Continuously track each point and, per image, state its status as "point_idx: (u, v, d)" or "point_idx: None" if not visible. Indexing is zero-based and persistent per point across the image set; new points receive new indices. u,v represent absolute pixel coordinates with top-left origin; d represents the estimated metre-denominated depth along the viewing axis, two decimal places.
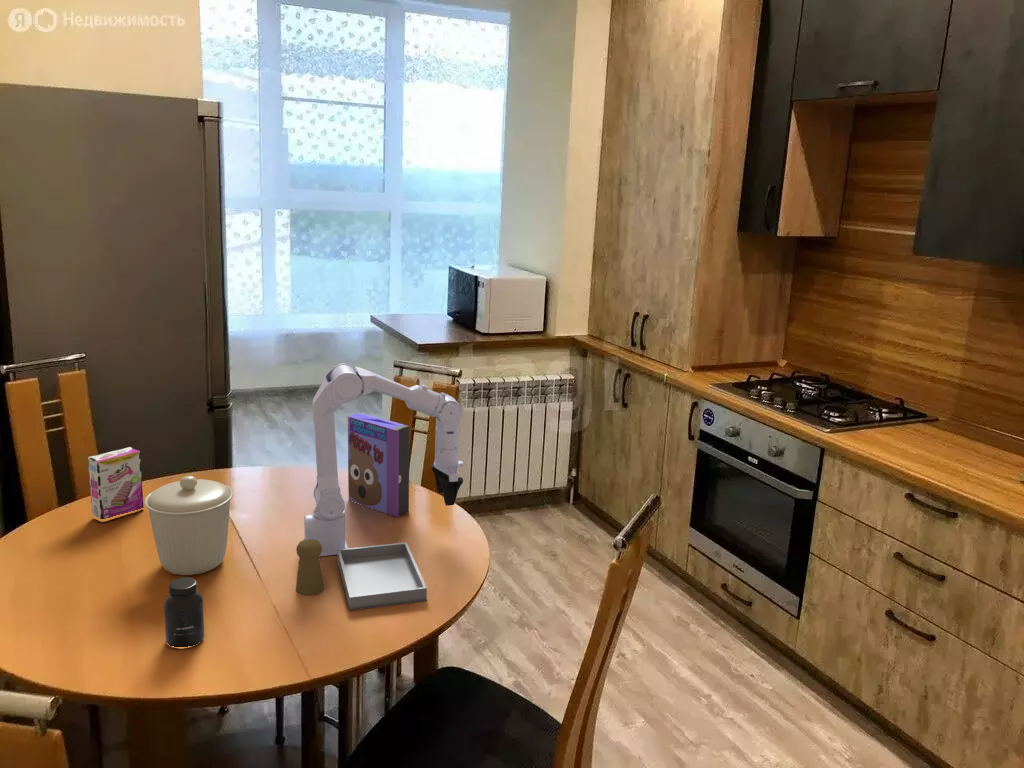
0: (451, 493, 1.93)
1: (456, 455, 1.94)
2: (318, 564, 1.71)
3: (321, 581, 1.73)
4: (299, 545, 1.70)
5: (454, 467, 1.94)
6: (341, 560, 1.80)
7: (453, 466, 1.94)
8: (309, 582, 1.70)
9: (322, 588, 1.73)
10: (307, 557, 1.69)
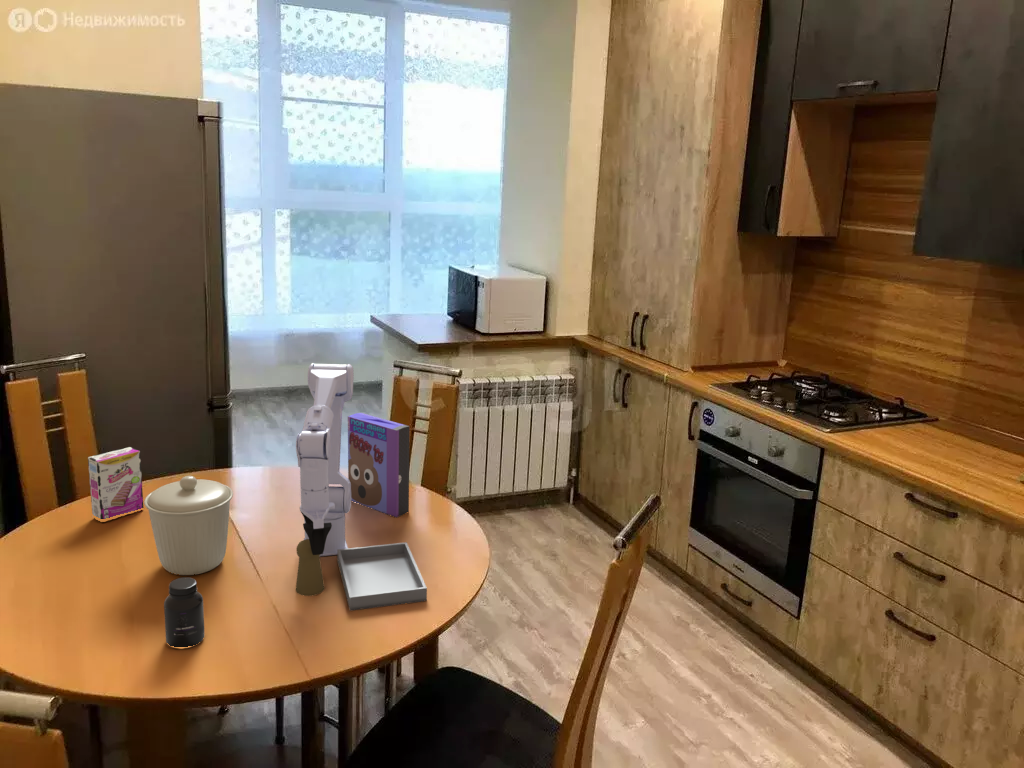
0: (318, 541, 1.68)
1: (325, 497, 1.68)
2: (318, 564, 1.71)
3: (321, 581, 1.73)
4: (299, 545, 1.70)
5: (322, 511, 1.68)
6: (341, 560, 1.80)
7: (321, 510, 1.68)
8: (309, 582, 1.70)
9: (322, 588, 1.73)
10: (307, 557, 1.69)
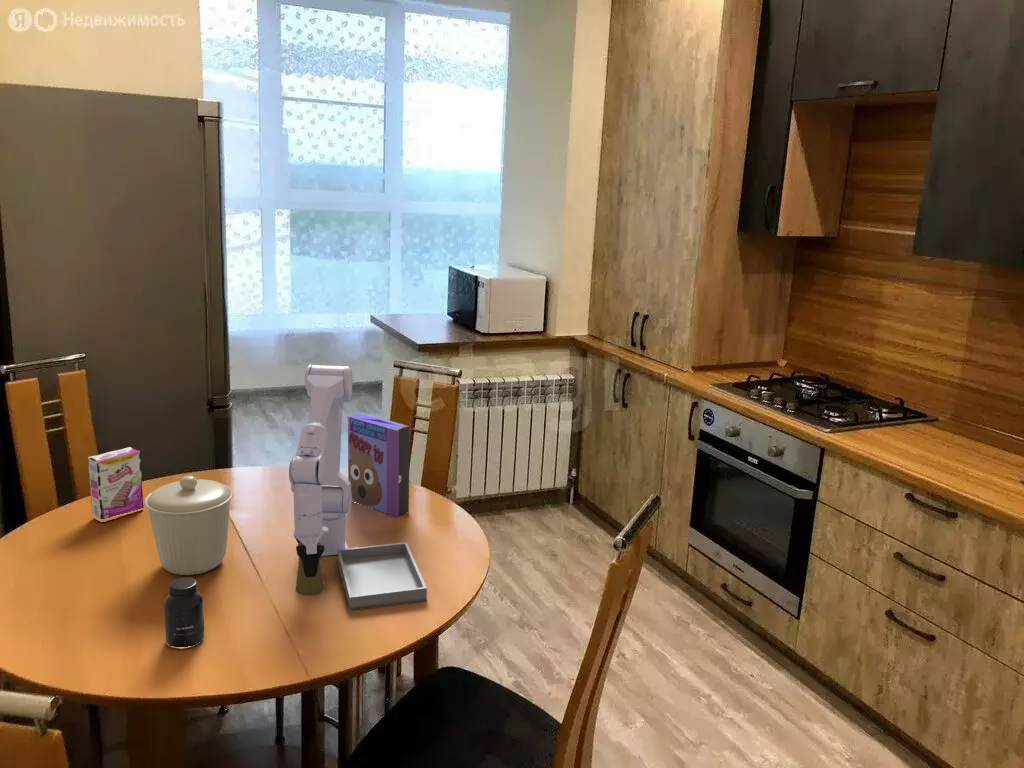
0: (311, 563, 1.69)
1: (318, 522, 1.68)
2: (318, 564, 1.71)
3: (321, 581, 1.73)
4: (299, 545, 1.70)
5: (315, 536, 1.68)
6: (341, 560, 1.80)
7: (314, 534, 1.68)
8: (309, 582, 1.70)
9: (322, 588, 1.73)
10: None
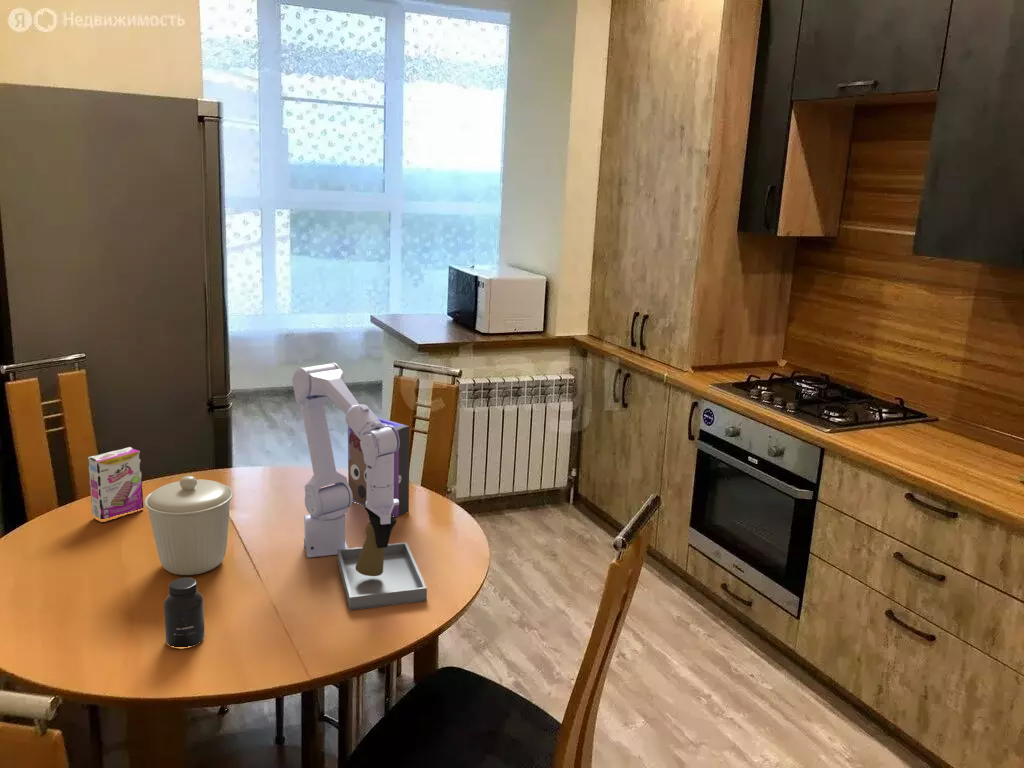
0: (383, 534, 1.72)
1: (390, 494, 1.72)
2: None
3: (382, 564, 1.76)
4: (369, 524, 1.74)
5: (388, 507, 1.71)
6: (341, 560, 1.80)
7: (386, 506, 1.71)
8: (372, 563, 1.74)
9: (381, 571, 1.76)
10: None
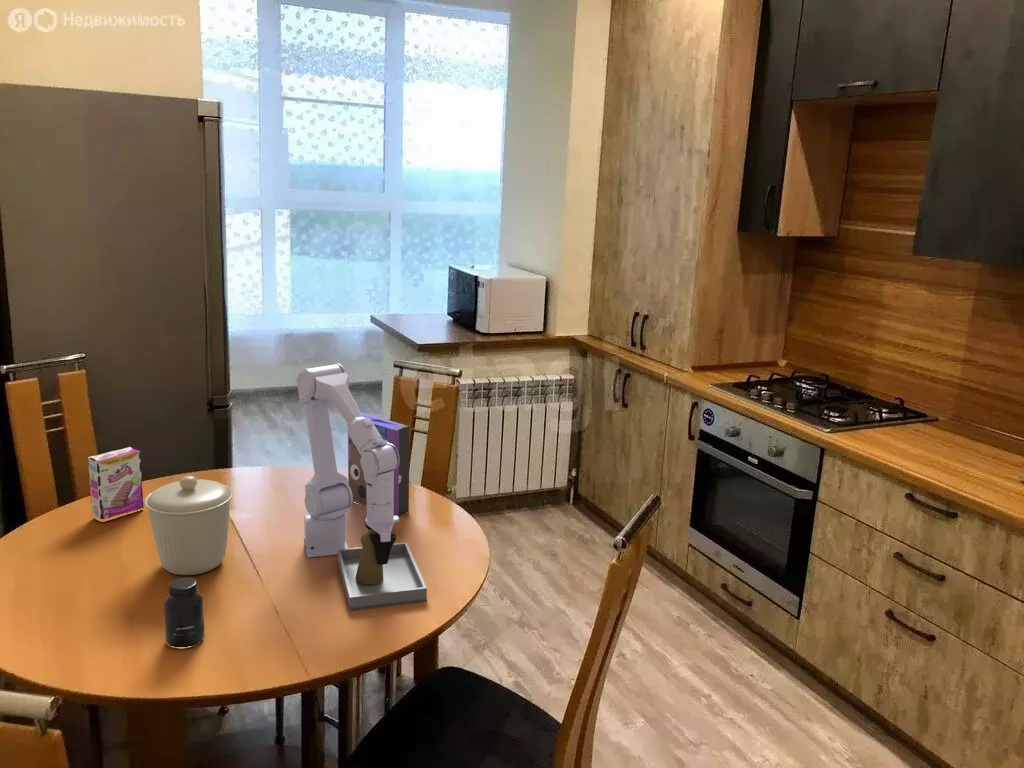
0: (383, 551, 1.73)
1: (390, 511, 1.73)
2: None
3: (382, 571, 1.76)
4: (364, 534, 1.74)
5: (388, 524, 1.72)
6: (341, 560, 1.80)
7: (386, 523, 1.72)
8: (371, 572, 1.74)
9: (382, 578, 1.76)
10: (371, 546, 1.73)
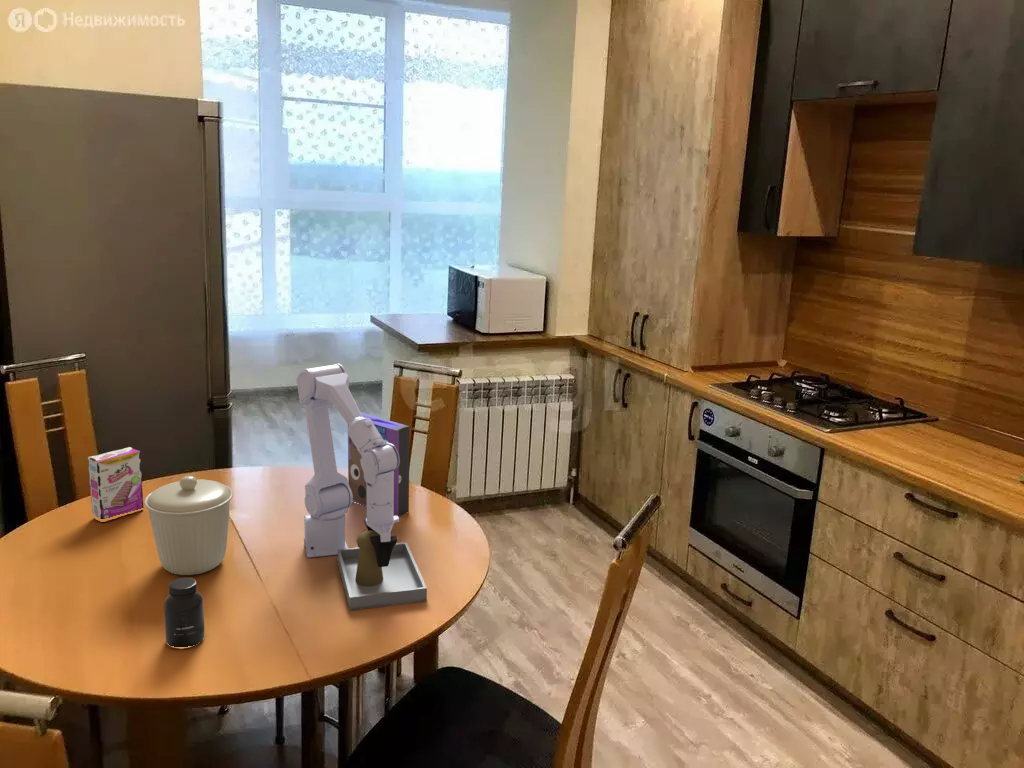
0: (384, 553, 1.72)
1: (390, 511, 1.73)
2: None
3: (381, 572, 1.76)
4: (360, 537, 1.73)
5: (388, 524, 1.72)
6: (341, 560, 1.80)
7: (386, 523, 1.72)
8: (369, 573, 1.74)
9: (381, 579, 1.76)
10: (367, 548, 1.73)
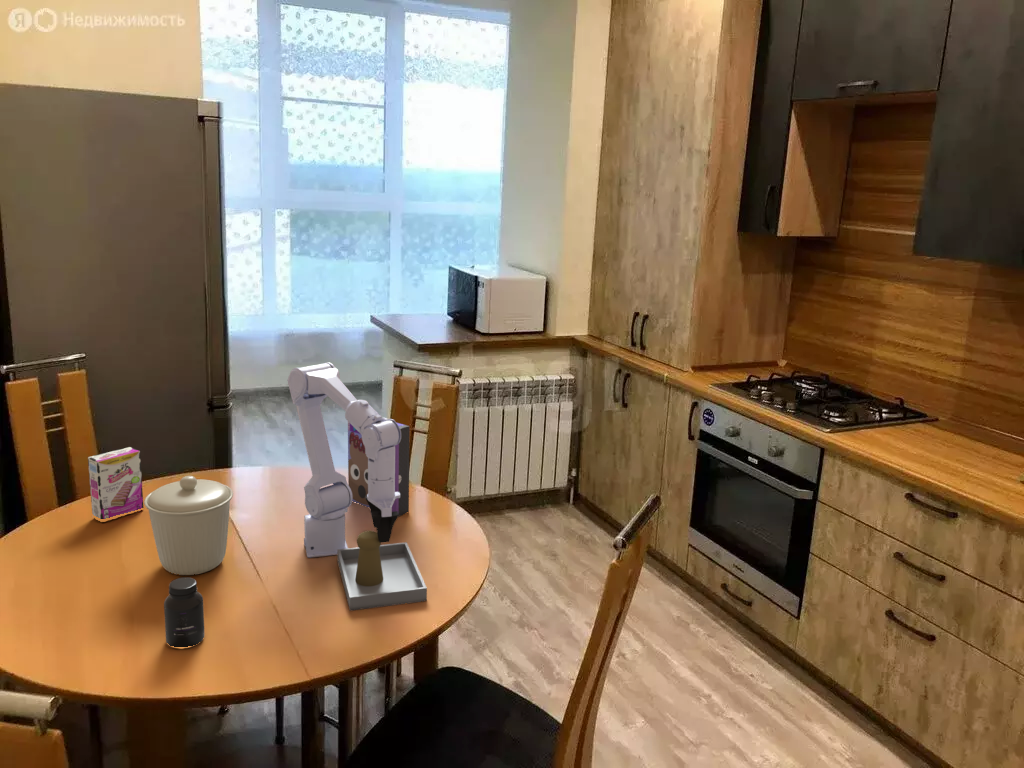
0: (385, 529, 1.73)
1: (392, 487, 1.73)
2: (378, 555, 1.75)
3: (381, 572, 1.76)
4: (360, 536, 1.73)
5: (389, 500, 1.73)
6: (341, 560, 1.80)
7: (388, 499, 1.73)
8: (369, 573, 1.74)
9: (381, 579, 1.76)
10: (367, 548, 1.73)
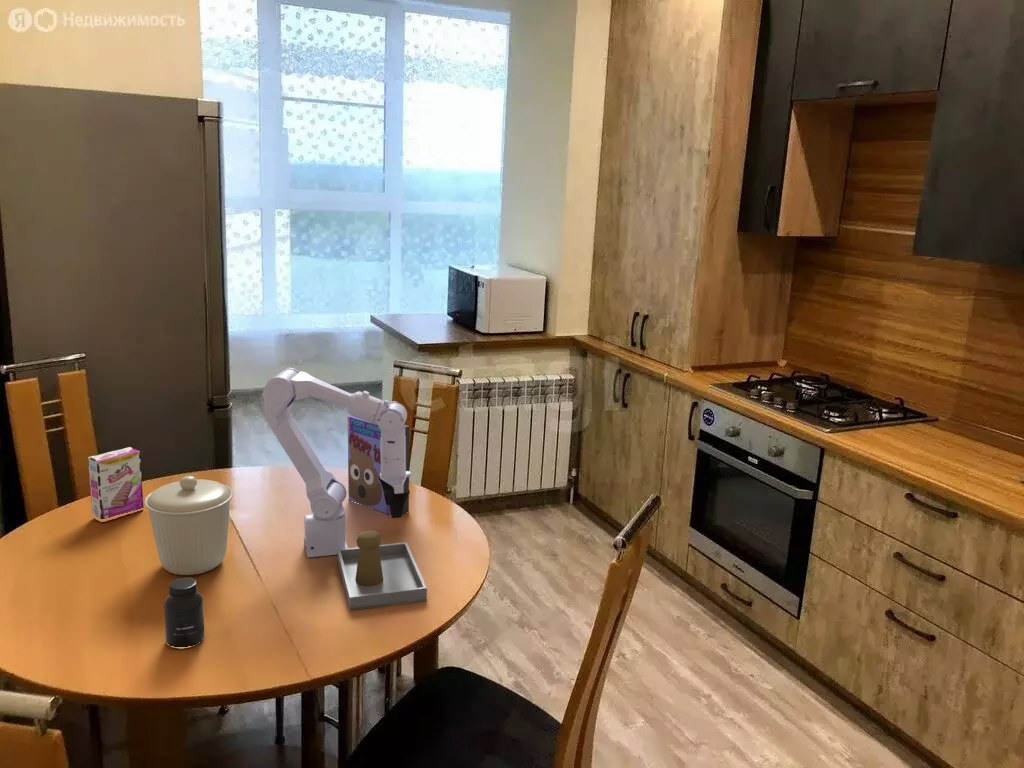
0: (398, 505, 1.84)
1: (403, 466, 1.85)
2: (378, 555, 1.75)
3: (381, 571, 1.76)
4: (360, 536, 1.74)
5: (400, 478, 1.85)
6: (341, 560, 1.80)
7: (399, 477, 1.85)
8: (369, 573, 1.74)
9: (381, 578, 1.76)
10: (367, 548, 1.73)
